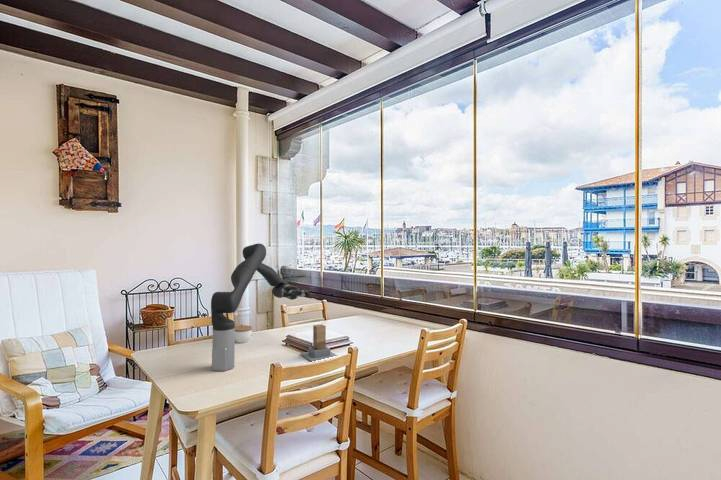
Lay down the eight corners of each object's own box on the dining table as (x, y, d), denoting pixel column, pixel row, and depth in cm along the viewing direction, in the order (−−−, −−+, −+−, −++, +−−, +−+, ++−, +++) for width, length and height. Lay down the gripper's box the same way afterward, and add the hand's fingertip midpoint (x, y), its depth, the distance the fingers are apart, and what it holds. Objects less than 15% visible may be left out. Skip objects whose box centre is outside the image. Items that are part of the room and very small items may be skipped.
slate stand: (338, 358, 186) (338, 349, 186) (311, 362, 179) (311, 353, 179) (326, 350, 198) (326, 342, 198) (300, 354, 191) (300, 346, 191)
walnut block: (325, 355, 188) (325, 326, 188) (316, 356, 186) (317, 327, 186) (321, 352, 192) (321, 324, 192) (313, 354, 190) (313, 325, 190)
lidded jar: (255, 339, 218) (255, 323, 218) (245, 345, 208) (245, 327, 208) (238, 338, 221) (239, 321, 221) (227, 343, 211) (227, 326, 211)
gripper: (277, 285, 211) (287, 288, 197) (302, 284, 218) (313, 287, 204) (277, 299, 211) (287, 303, 197) (302, 297, 218) (313, 301, 204)
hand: (301, 295), depth 200 cm, fingers open, 8 cm apart
